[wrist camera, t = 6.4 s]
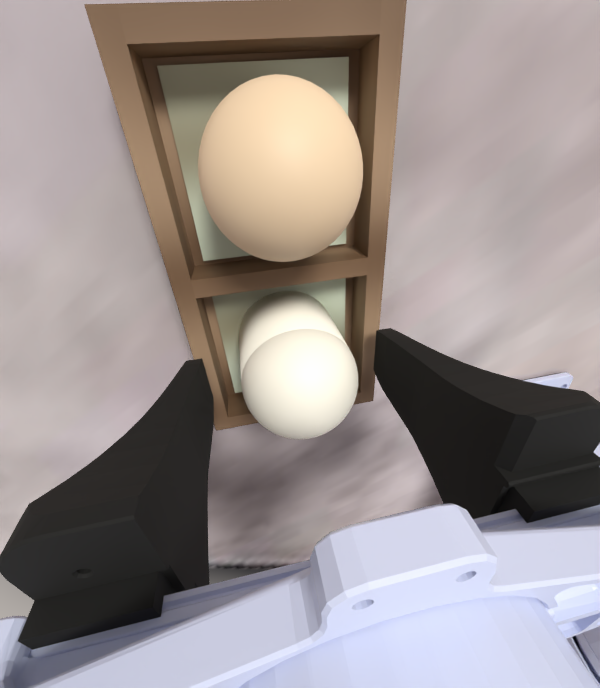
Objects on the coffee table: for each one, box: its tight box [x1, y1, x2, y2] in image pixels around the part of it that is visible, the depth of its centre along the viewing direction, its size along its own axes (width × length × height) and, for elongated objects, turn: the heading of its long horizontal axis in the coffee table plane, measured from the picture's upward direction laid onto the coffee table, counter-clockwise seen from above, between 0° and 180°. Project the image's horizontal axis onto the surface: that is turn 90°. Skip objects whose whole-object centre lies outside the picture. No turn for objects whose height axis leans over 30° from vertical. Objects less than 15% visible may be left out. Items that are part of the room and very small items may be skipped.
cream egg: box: [239, 291, 358, 439], centre depth 13 cm, size 4×4×6 cm
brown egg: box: [198, 74, 363, 262], centre depth 9 cm, size 4×4×6 cm
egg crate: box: [84, 0, 407, 430], centre depth 13 cm, size 14×8×2 cm, turn 3°
